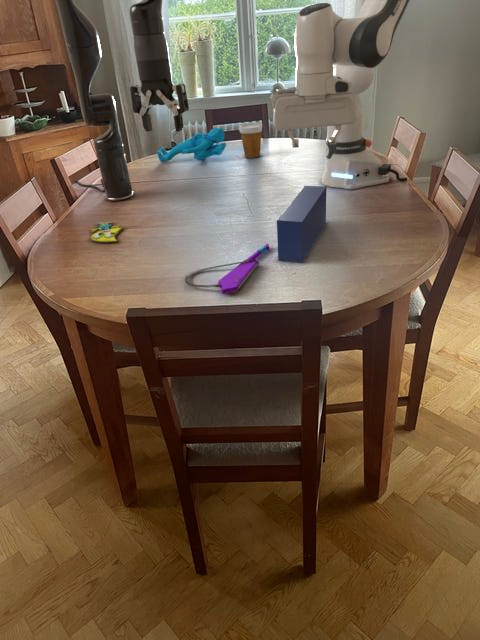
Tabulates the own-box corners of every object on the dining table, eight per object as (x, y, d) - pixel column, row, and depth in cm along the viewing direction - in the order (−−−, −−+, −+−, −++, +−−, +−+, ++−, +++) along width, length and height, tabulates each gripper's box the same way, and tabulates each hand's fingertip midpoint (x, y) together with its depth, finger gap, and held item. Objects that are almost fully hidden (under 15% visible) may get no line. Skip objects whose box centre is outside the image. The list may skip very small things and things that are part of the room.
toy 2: (164, 141, 211) (226, 121, 200) (173, 164, 216) (234, 146, 206) (150, 151, 197) (216, 130, 187) (160, 176, 202) (225, 157, 192)
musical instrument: (182, 302, 106) (271, 286, 103) (179, 293, 105) (270, 277, 102) (195, 260, 127) (269, 246, 124) (193, 253, 126) (268, 239, 123)
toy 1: (127, 219, 147) (117, 239, 134) (127, 222, 147) (117, 242, 135) (94, 222, 147) (81, 242, 135) (94, 225, 148) (82, 245, 135)
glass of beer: (264, 157, 198) (262, 127, 191) (241, 159, 198) (238, 129, 192) (263, 152, 206) (261, 122, 199) (241, 153, 206) (239, 124, 200)
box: (304, 221, 137) (304, 185, 131) (325, 223, 135) (326, 186, 129) (278, 260, 118) (276, 220, 112) (302, 263, 115) (302, 221, 110)
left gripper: (117, 60, 110) (131, 134, 119) (172, 57, 105) (182, 134, 114) (134, 56, 116) (147, 127, 124) (187, 53, 111) (196, 127, 120)
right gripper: (271, 91, 112) (274, 152, 119) (359, 83, 111) (356, 145, 119) (269, 87, 117) (272, 146, 124) (353, 80, 116) (351, 139, 124)
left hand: (164, 131), depth 119 cm, fingers open, 8 cm apart
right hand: (314, 145), depth 122 cm, fingers open, 8 cm apart
